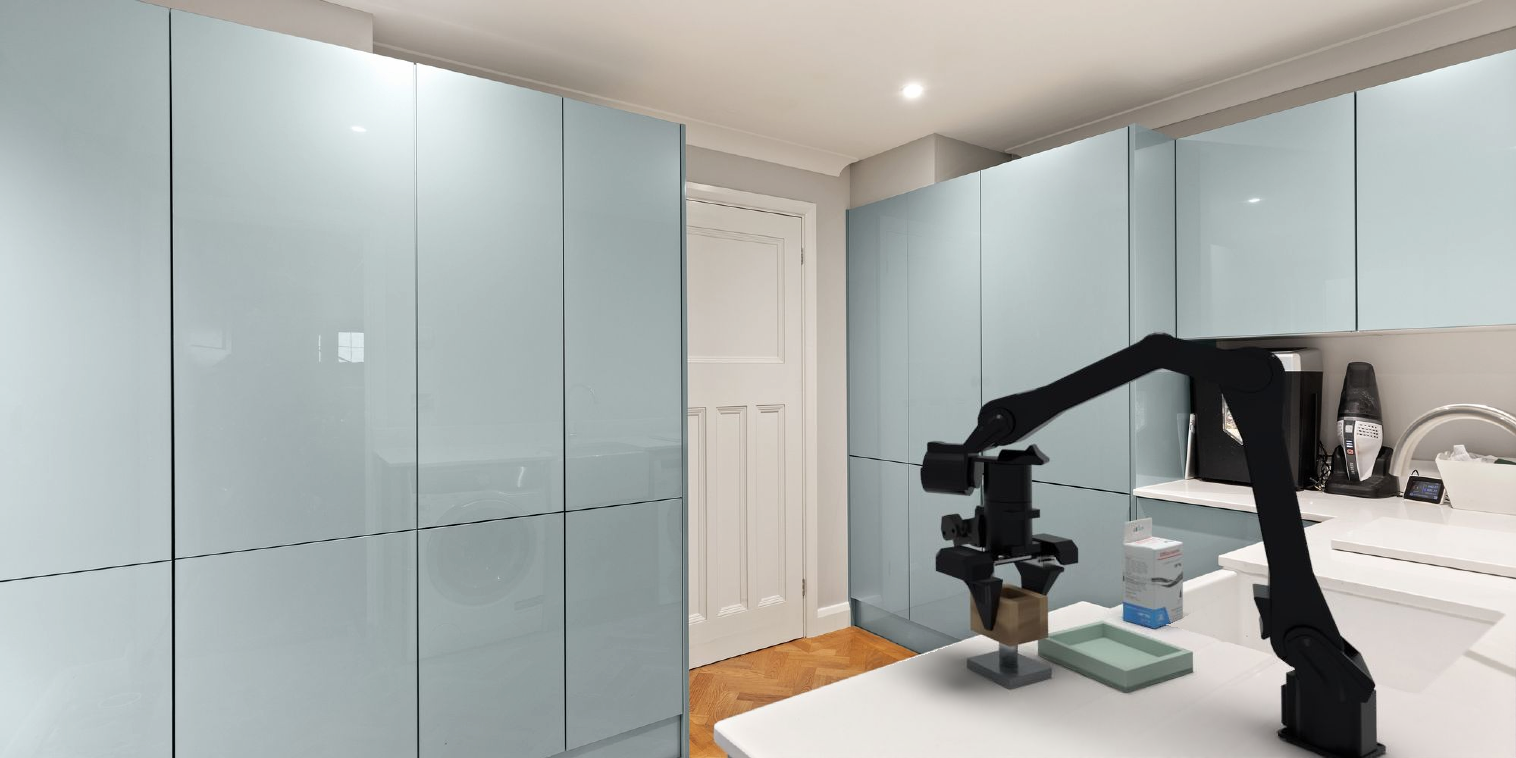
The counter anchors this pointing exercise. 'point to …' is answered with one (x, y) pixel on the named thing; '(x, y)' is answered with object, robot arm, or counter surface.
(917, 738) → the counter surface
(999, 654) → the stand
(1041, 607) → the walnut block
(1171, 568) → the ink box
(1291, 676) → the robot arm
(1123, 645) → the sage tray
